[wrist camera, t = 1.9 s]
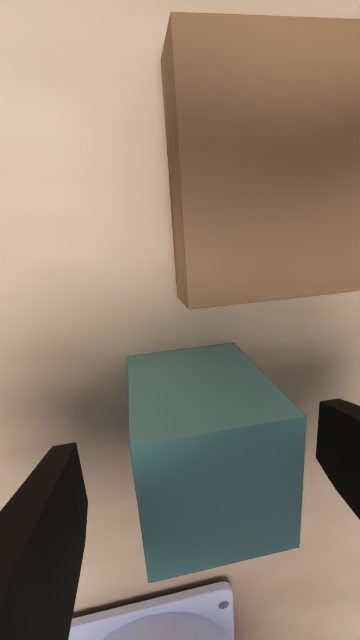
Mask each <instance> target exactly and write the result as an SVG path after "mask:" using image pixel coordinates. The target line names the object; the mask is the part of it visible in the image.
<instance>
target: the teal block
mask: <svg viewBox="0 0 360 640" xmlns="http://www.w3.org/2000/svg"><path fill="white" fill-rule="evenodd" d="M128 393H129V438H130V453H131V460H132V467H133V474H134V482H135V489H136V496H137V503H138V511H139V518H140V525H141V532H142V540H143V547H144V554H145V561H146V569H147V576H148V583H153V582H157V581H161V580H165V579H169V578H173V577H178V576H182V575H186V574H190V573H194V572H198V571H203V570H207V569H211V568H215V567H219V566H223V565H228V564H232V563H236V562H240V561H244V560H248V559H253V558H257V557H261V556H265V555H269V554H274V553H278V552H282V551H286V550H290V549H294V548H299V544H300V526H301V508H302V490H303V472H304V453H305V435H306V417H307V416H306V415H305V414H304V413H303V412H302V411H301V410H300V409H299V408H298V407H297V406H296V405H295V404H294V403H293V402H292V401H291V400H290V399H289V398H288V397H287V396H286V395H285V394H284V393H283V392H282V391H281V390H280V389H279V388H278V387H277V386H276V385H275V384H274V383H273V382H272V381H271V380H270V379H269V378H268V377H267V376H266V375H265V374H264V373H263V372H262V371H261V370H260V369H259V368H258V367H257V366H256V365H255V364H254V363H253V362H252V361H251V360H250V359H249V358H248V357H247V356H246V355H245V354H244V353H243V352H242V351H241V350H240V349H239V348H238V347H237V346H236V345H235V344H234V343H226V344H218V345H211V346H203V347H195V348H188V349H180V350H172V351H165V352H157V353H149V354H142V355H134V356H128Z"/></svg>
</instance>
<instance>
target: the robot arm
mask: <svg viewBox="0 0 360 640" xmlns="http://www.w3.org/2000/svg"><path fill="white" fill-rule="evenodd" d="M316 458H317V460H318V462H319V463H320V465H321V467H322V468H323V470H324V472H325V473H326V475H327V477H328V478H329V480H330V481H331V483H332V484H333V486H334V487H335V489H336V490H337V492H338V493H339V494H340V495H341V497H342V498H343V499H344V500H345V502H346V503H347V504H348V506H349V507H350V508H351V509H352V511H353V512H354V513H355V514H356V516H357V517H358V518H359V519H360V406H358V405H356V404H353V403H350V402H347V401H344V400H341V399H332V400H326V401H320V405H319V419H318V433H317V448H316ZM87 508H88V500H87V495H86V490H85V485H84V480H83V475H82V470H81V465H80V460H79V455H78V450H77V445H76V442H75V443H69V444H63V445H57V446H53V447H52V448H51V449H50V450H49V451H48V453H47V454H46V455H45V456H44V457H43V459H42V460H41V461H40V463H39V464H38V465H37V466H36V468H35V469H34V470H33V471H32V473H31V474H30V475H29V476H28V478H27V479H26V480H25V482H24V483H23V484H22V485H21V487H20V488H19V489H18V490H17V492H16V493H15V494H14V495H13V496H12V498H11V499H10V500H9V501H8V502H7V504H6V505H5V506H4V507H3V508H2V510H1V511H0V640H234V610H233V592H232V589H231V586H230V584H229V583H228V582H224V581H223V582H217V583H213V584H209V585H205V586H201V587H197V588H193V589H189V590H185V591H181V592H177V593H173V594H169V595H165V596H161V597H157V598H153V599H149V600H145V601H141V602H137V603H133V604H129V605H125V606H121V607H117V608H113V609H109V610H105V611H101V612H97V613H93V614H89V615H85V616H81V617H77V618H73V619H72V616H73V610H74V605H75V599H76V593H77V588H78V582H79V576H80V570H81V564H82V559H83V553H84V547H85V537H86V524H87Z"/></svg>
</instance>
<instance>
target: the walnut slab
mask: <svg viewBox="0 0 360 640" xmlns="http://www.w3.org/2000/svg"><path fill="white" fill-rule="evenodd" d="M161 69H162V83H163V98H164V112H165V126H166V140H167V155H168V169H169V183H170V198H171V212H172V226H173V240H174V255H175V269H176V283H177V296H178V298H179V299H180V300H181V301H182V302H183V303H184V304H185V306H186V307H187V308H188V309H197V308H206V307H215V306H224V305H233V304H243V303H252V302H261V301H270V300H280V299H289V298H298V297H307V296H316V295H326V294H335V293H344V292H353V291H360V19H343V18H318V17H292V16H266V15H241V14H215V13H190V12H171V13H170V18H169V23H168V27H167V32H166V37H165V42H164V47H163V52H162V56H161Z"/></svg>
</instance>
